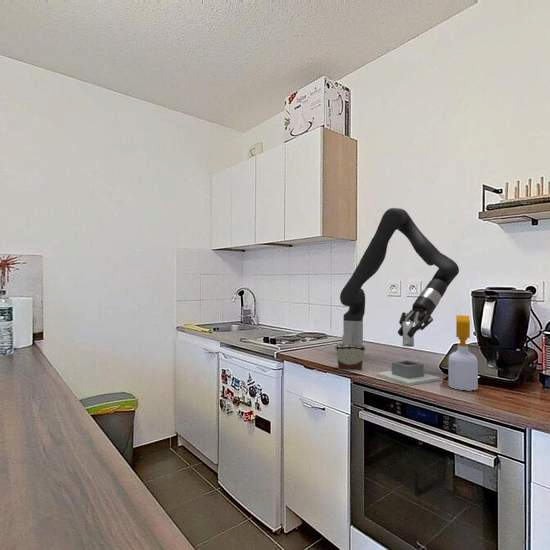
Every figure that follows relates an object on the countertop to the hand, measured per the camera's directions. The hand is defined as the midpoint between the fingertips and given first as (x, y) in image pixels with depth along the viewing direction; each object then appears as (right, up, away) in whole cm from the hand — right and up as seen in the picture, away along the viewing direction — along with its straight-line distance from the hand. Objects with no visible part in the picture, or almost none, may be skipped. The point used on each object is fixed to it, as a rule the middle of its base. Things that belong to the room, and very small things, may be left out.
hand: (404, 335), depth 144 cm
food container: (-18, -16, +16) cm, 29 cm away
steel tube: (+2, -4, +1) cm, 5 cm away
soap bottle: (+16, -16, -12) cm, 26 cm away
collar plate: (+1, -16, +1) cm, 16 cm away
